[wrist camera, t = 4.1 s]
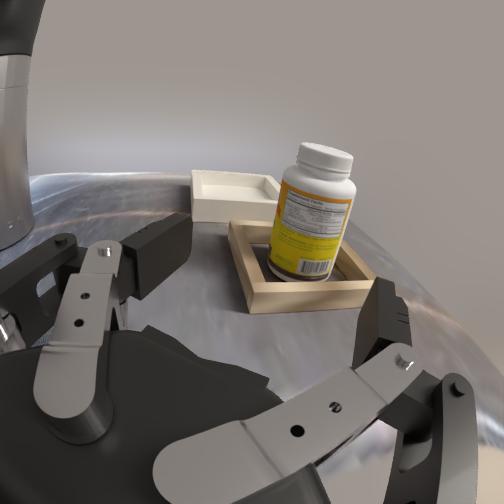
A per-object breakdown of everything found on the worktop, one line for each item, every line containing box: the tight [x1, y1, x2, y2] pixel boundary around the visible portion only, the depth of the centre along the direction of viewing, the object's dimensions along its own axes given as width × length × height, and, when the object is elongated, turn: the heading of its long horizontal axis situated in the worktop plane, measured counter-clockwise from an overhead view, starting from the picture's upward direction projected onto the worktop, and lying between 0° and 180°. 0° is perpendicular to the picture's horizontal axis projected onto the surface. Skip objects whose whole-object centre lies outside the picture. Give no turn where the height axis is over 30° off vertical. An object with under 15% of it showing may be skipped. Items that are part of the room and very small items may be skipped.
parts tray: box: [190, 170, 281, 223], centre depth 34 cm, size 11×11×2 cm
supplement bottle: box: [267, 143, 356, 282], centre depth 22 cm, size 6×6×10 cm
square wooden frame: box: [228, 220, 376, 314], centre depth 24 cm, size 10×10×2 cm
